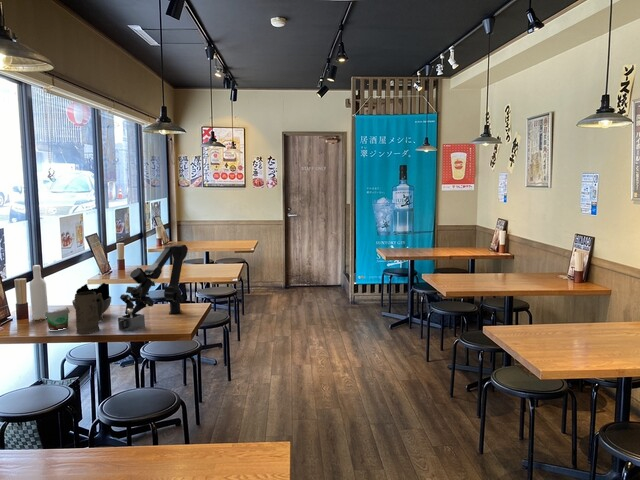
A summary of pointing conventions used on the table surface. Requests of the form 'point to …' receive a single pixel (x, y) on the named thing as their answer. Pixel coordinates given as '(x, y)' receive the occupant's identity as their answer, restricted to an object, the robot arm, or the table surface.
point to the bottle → (38, 294)
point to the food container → (57, 319)
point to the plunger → (130, 312)
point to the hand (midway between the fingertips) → (129, 314)
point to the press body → (131, 322)
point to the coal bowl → (100, 289)
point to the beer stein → (88, 312)
